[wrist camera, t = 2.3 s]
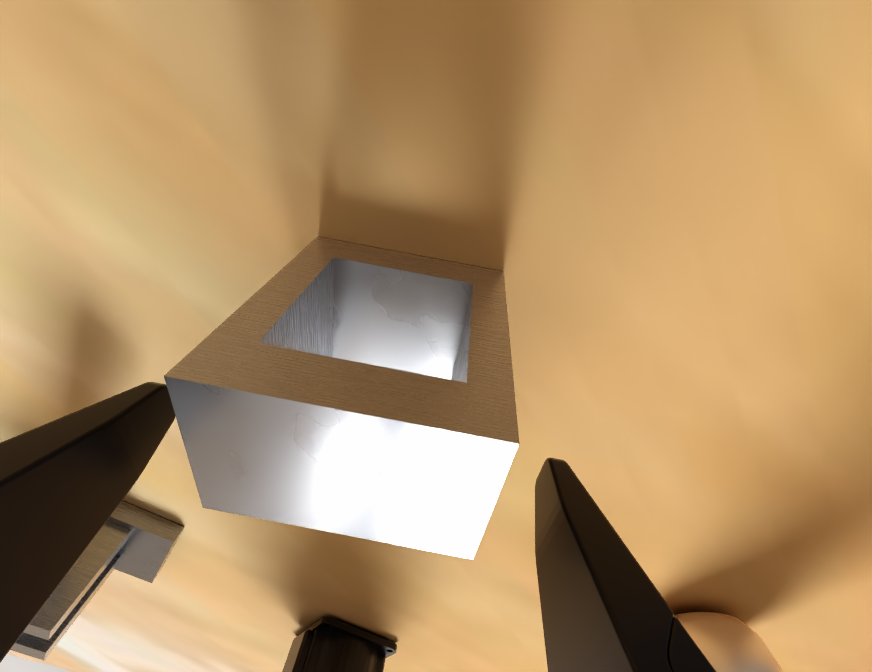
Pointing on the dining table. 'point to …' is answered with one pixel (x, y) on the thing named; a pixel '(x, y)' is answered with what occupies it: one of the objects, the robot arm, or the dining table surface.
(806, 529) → the dining table surface
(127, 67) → the dining table surface
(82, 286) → the dining table surface
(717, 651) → the plastic bottle
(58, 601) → the shaft stand
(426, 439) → the hollow rectangular metal block
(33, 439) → the robot arm
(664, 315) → the dining table surface
